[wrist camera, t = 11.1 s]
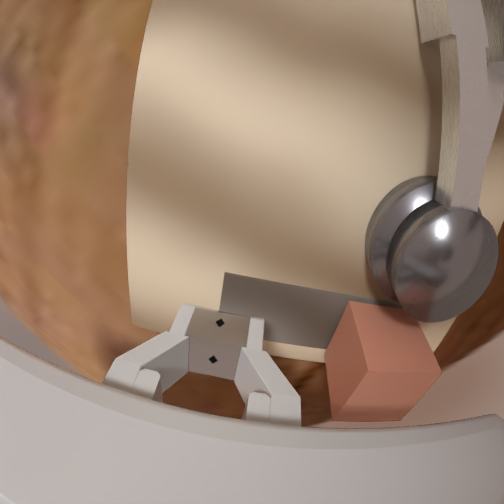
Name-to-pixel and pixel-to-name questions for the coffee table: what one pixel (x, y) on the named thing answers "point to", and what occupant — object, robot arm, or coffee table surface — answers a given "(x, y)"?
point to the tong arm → (450, 178)
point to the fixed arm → (424, 187)
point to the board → (278, 159)
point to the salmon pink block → (377, 364)
